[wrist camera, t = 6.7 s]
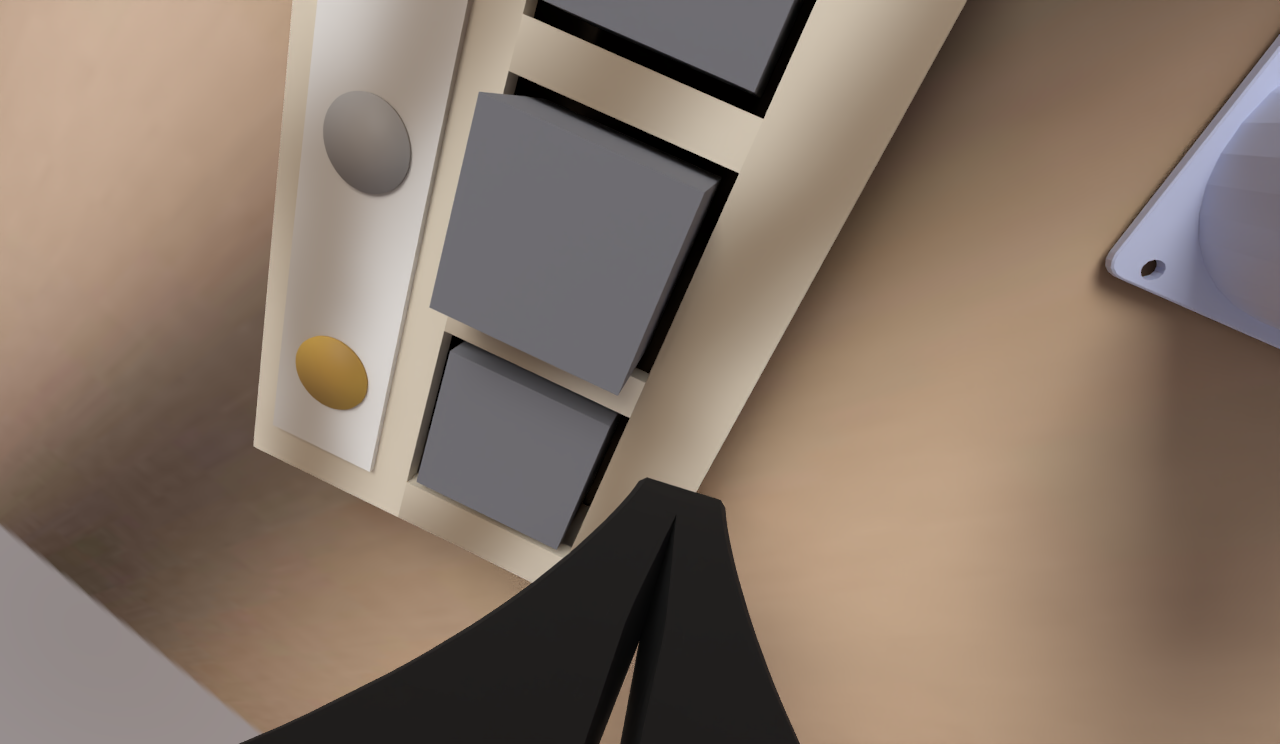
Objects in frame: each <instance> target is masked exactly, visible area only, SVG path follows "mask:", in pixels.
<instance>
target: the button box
mask: <svg viewBox="0 0 1280 744" xmlns="http://www.w3.org/2000/svg"><path fill="white" fill-rule="evenodd" d="M966 1H967V0H817V1H816V3H815V5H814V7H813V10H812V12H811V14H810V16H809V18H808V21H807V23H806V25H805V27H804V30H803V32H802V34H801V36H800V39H799V41H798V43H797V45H796V48H795V50H794V52H793V54H792V56H791V59H790V61H789V63H788V65H787V68H786V70H785V72H784V74H783V77H782V79H781V81H780V83H779V86H778V88H777V90H776V92H775V94H774V97H773V99H772V101H771V103H770V106H769V108H768V110H767V112H766V115H765V117H764V119H762V118H760V117H758V116H755V115H753V114H751V113H749V112H746V111H744V110H742V109H739V108H737V107H735V106H733V105H730V104H728V103H726V102H723V101H721V100H719V99H717V98H714V97H712V96H710V95H707V94H705V93H703V92H701V91H698V90H696V89H694V88H692V87H689V86H687V85H685V84H682V83H680V82H678V81H676V80H673V79H671V78H669V77H666V76H664V75H662V74H660V73H657V72H655V71H653V70H650V69H648V68H646V67H644V66H641V65H639V64H637V63H635V62H632V61H630V60H628V59H625V58H623V57H621V56H619V55H616V54H614V53H612V52H609V51H607V50H605V49H603V48H600V47H598V46H596V45H593V44H591V43H589V42H587V41H584V40H582V39H580V38H577V37H575V36H573V35H571V34H568V33H566V32H564V31H562V30H559V29H557V28H555V27H552V26H550V25H548V24H546V23H543V22H541V21H539V20H536V19H534V14H535V10H536V6H537V2H538V0H293V2H292V14H291V25H290V37H289V48H288V59H287V71H286V82H285V94H284V105H283V116H282V128H281V139H280V150H279V162H278V173H277V185H276V196H275V207H274V219H273V230H272V241H271V253H270V264H269V276H268V287H267V298H266V310H265V321H264V333H263V344H262V355H261V367H260V378H259V389H258V401H257V412H256V424H255V435H254V447H256V448H258V449H260V450H262V451H264V452H266V453H268V454H270V455H272V456H274V457H276V458H278V459H280V460H282V461H284V462H286V463H288V464H290V465H292V466H295V467H297V468H299V469H301V470H303V471H305V472H307V473H309V474H311V475H313V476H315V477H317V478H319V479H321V480H323V481H325V482H327V483H329V484H331V485H333V486H335V487H337V488H339V489H341V490H344V491H346V492H348V493H350V494H352V495H354V496H356V497H358V498H360V499H362V500H364V501H366V502H368V503H370V504H372V505H374V506H376V507H378V508H380V509H382V510H384V511H386V512H388V513H391V514H393V515H395V516H397V517H399V518H401V519H403V520H405V521H407V522H409V523H411V524H413V525H415V526H417V527H419V528H421V529H423V530H425V531H427V532H429V533H431V534H433V535H435V536H438V537H440V538H442V539H444V540H446V541H448V542H450V543H452V544H454V545H456V546H458V547H460V548H462V549H464V550H466V551H468V552H470V553H472V554H474V555H476V556H478V557H480V558H482V559H485V560H487V561H489V562H491V563H493V564H495V565H497V566H499V567H501V568H503V569H505V570H507V571H509V572H511V573H513V574H515V575H517V576H519V577H521V578H523V579H525V580H527V581H529V582H532V583H533V582H534V581H535V580H536V579H538V578H539V577H540V576H541V575H543V574H544V573H545V572H546V571H548V570H549V569H550V568H551V567H553V566H554V565H555V564H556V563H558V562H559V561H560V560H561V559H562V558H564V557H565V556H566V555H567V554H569V553H570V552H571V551H572V550H573V549H574V548H576V547H577V546H578V545H579V544H580V543H581V542H582V541H583V540H584V539H585V538H586V537H588V536H589V535H590V534H591V533H592V532H593V531H594V530H595V529H596V528H597V527H598V526H599V525H600V524H602V523H603V522H604V521H605V520H606V519H607V518H608V517H609V515H610V514H611V513H612V512H613V511H614V510H615V509H616V508H617V507H618V506H619V505H620V504H621V503H622V502H623V501H624V499H625V498H626V497H627V496H628V495H629V494H630V492H631V491H632V490H633V489H634V487H635V486H636V484H637V483H638V481H640V480H642V479H644V478H647V477H648V478H651V479H654V480H658V481H661V482H664V483H667V484H670V485H674V486H677V487H680V488H683V489H686V490H690V491H693V492H697V490H698V488H699V486H700V484H701V483H702V481H703V479H704V477H705V475H706V473H707V472H708V470H709V468H710V466H711V464H712V463H713V461H714V459H715V457H716V455H717V454H718V452H719V450H720V448H721V446H722V444H723V443H724V441H725V439H726V437H727V435H728V434H729V432H730V430H731V428H732V426H733V424H734V423H735V421H736V419H737V417H738V415H739V414H740V412H741V410H742V408H743V406H744V404H745V403H746V401H747V399H748V397H749V395H750V394H751V392H752V390H753V388H754V386H755V384H756V383H757V381H758V379H759V377H760V375H761V374H762V372H763V370H764V368H765V366H766V365H767V363H768V361H769V359H770V357H771V355H772V354H773V352H774V350H775V348H776V346H777V345H778V343H779V341H780V339H781V337H782V335H783V334H784V332H785V330H786V328H787V326H788V325H789V323H790V321H791V319H792V317H793V315H794V314H795V312H796V310H797V308H798V306H799V305H800V303H801V301H802V299H803V297H804V295H805V294H806V292H807V290H808V288H809V286H810V285H811V283H812V281H813V279H814V277H815V276H816V274H817V272H818V270H819V268H820V266H821V265H822V263H823V261H824V259H825V257H826V256H827V254H828V252H829V250H830V248H831V246H832V245H833V243H834V241H835V239H836V237H837V236H838V234H839V232H840V230H841V228H842V226H843V225H844V223H845V221H846V219H847V217H848V216H849V214H850V212H851V210H852V208H853V206H854V205H855V203H856V201H857V199H858V197H859V196H860V194H861V192H862V190H863V188H864V187H865V185H866V183H867V181H868V179H869V177H870V176H871V174H872V172H873V170H874V168H875V167H876V165H877V163H878V161H879V159H880V157H881V156H882V154H883V152H884V150H885V148H886V147H887V145H888V143H889V141H890V139H891V137H892V136H893V134H894V132H895V130H896V128H897V127H898V125H899V123H900V121H901V119H902V118H903V116H904V114H905V112H906V110H907V108H908V107H909V105H910V103H911V101H912V99H913V98H914V96H915V94H916V92H917V90H918V88H919V87H920V85H921V83H922V81H923V79H924V78H925V76H926V74H927V72H928V70H929V68H930V67H931V65H932V63H933V61H934V59H935V58H936V56H937V54H938V52H939V50H940V48H941V47H942V45H943V43H944V41H945V39H946V38H947V36H948V34H949V32H950V30H951V29H952V27H953V25H954V23H955V21H956V19H957V18H958V16H959V14H960V12H961V10H962V9H963V7H964V5H965V3H966ZM518 76H521V77H524V78H526V79H528V80H530V81H533V82H535V83H537V84H539V85H542V86H544V87H546V88H548V89H551V90H553V91H555V92H557V93H560V94H562V95H564V96H566V97H569V98H571V99H573V100H575V101H578V102H580V103H582V104H584V105H587V106H589V107H591V108H593V109H596V110H598V111H600V112H602V113H605V114H607V115H609V116H611V117H614V118H616V119H618V120H620V121H623V122H625V123H627V124H629V125H632V126H634V127H636V128H638V129H641V130H643V131H645V132H647V133H650V134H652V135H654V136H656V137H659V138H661V139H663V140H665V141H668V142H670V143H672V144H674V145H677V146H679V147H681V148H683V149H686V150H688V151H690V152H692V153H695V154H697V155H699V156H701V157H704V158H706V159H708V160H710V161H713V162H715V163H717V164H719V165H722V166H724V167H726V168H728V169H731V170H733V171H735V172H737V173H739V175H738V177H737V179H736V182H735V184H734V186H733V188H732V191H731V193H730V195H729V197H728V200H727V202H726V204H725V206H724V208H723V211H722V213H721V215H720V217H719V220H718V222H717V224H716V226H715V229H714V231H713V233H712V235H711V238H710V240H709V242H708V244H707V246H706V249H705V251H704V253H703V255H702V258H701V260H700V262H699V264H698V267H697V269H696V271H695V273H694V276H693V278H692V280H691V282H690V284H689V287H688V289H687V291H686V293H685V296H684V298H683V300H682V302H681V305H680V307H679V309H678V311H677V314H676V316H675V318H674V320H673V322H672V325H671V327H670V329H669V331H668V334H667V336H666V338H665V340H664V343H663V345H662V347H661V349H660V352H659V354H658V356H657V358H656V360H655V363H654V365H653V367H652V369H651V372H650V374H648V373H646V372H644V371H642V370H640V369H638V368H635V369H634V371H633V372H632V374H631V375H630V377H629V379H628V380H627V382H626V383H625V385H624V387H623V388H622V390H621V392H620V393H619V395H618V396H617V395H615V394H613V393H611V392H609V391H606V390H604V389H602V388H600V387H598V386H596V385H594V384H591V383H589V382H587V381H585V380H583V379H581V378H579V377H577V376H574V375H572V374H570V373H568V372H566V371H564V370H562V369H559V368H557V367H555V366H553V365H551V364H549V363H547V362H545V361H542V360H540V359H538V358H536V357H534V356H532V355H530V354H527V353H525V352H523V351H521V350H519V349H517V348H515V347H513V346H510V345H508V344H506V343H504V342H502V341H500V340H498V339H496V338H493V337H491V336H489V335H487V334H485V333H483V332H481V331H478V330H476V329H474V328H472V327H470V326H468V325H466V324H464V323H461V322H459V321H457V320H455V319H453V318H451V317H449V316H446V315H444V314H442V313H440V312H438V311H436V310H434V309H432V308H429V306H430V302H431V298H432V293H433V289H434V285H435V280H436V276H437V272H438V267H439V263H440V259H441V254H442V250H443V246H444V241H445V237H446V233H447V228H448V224H449V220H450V215H451V211H452V206H453V202H454V198H455V193H456V189H457V185H458V180H459V176H460V172H461V167H462V163H463V159H464V154H465V150H466V146H467V141H468V137H469V133H470V128H471V124H472V120H473V115H474V111H475V106H476V102H477V98H478V93H479V92H488V93H497V94H507V95H514V92H515V88H516V84H517V80H518ZM452 335H454V336H456V337H458V338H461V339H463V340H465V341H467V342H469V343H471V344H473V345H475V346H478V347H480V348H482V349H484V350H486V351H488V352H490V353H492V354H495V355H497V356H499V357H501V358H503V359H505V360H507V361H509V362H512V363H514V364H516V365H518V366H520V367H522V368H524V369H526V370H529V371H531V372H533V373H535V374H537V375H539V376H541V377H543V378H546V379H548V380H550V381H552V382H554V383H556V384H558V385H560V386H563V387H565V388H567V389H569V390H571V391H573V392H575V393H577V394H580V395H582V396H584V397H586V398H588V399H590V400H592V401H595V402H597V403H599V404H601V405H603V406H605V407H607V408H609V409H612V410H614V411H616V412H618V413H620V414H622V415H624V416H626V417H629V418H630V419H629V421H628V423H627V425H626V428H625V430H624V432H623V434H622V436H621V439H620V441H619V443H618V445H617V448H616V450H615V452H614V454H613V457H612V459H611V461H610V463H609V466H608V468H607V470H606V472H605V474H604V477H603V479H602V481H601V483H600V486H599V488H598V490H597V492H596V495H595V497H594V499H593V501H592V504H591V506H590V507H589V506H587V505H585V504H583V503H582V504H581V506H580V507H579V509H578V511H577V513H576V515H575V517H574V519H573V520H572V522H571V524H570V526H569V528H568V530H567V532H566V533H565V535H564V537H563V539H562V541H561V543H560V545H559V546H558V548H557V550H556V549H554V548H552V547H550V546H547V545H545V544H543V543H541V542H539V541H537V540H535V539H533V538H531V537H529V536H527V535H525V534H523V533H521V532H519V531H517V530H515V529H512V528H510V527H508V526H506V525H504V524H502V523H500V522H498V521H496V520H494V519H492V518H490V517H488V516H486V515H484V514H482V513H479V512H477V511H475V510H473V509H471V508H469V507H467V506H465V505H463V504H461V503H459V502H457V501H455V500H453V499H451V498H449V497H447V496H444V495H442V494H440V493H438V492H436V491H434V490H432V489H430V488H428V487H426V486H424V485H422V484H420V483H418V482H416V481H417V477H418V474H419V470H420V466H421V462H422V458H423V454H424V450H425V446H426V442H427V439H428V435H429V431H430V430H428V428H429V424H430V420H431V416H432V412H433V408H434V404H435V400H436V396H437V393H438V389H439V385H440V381H441V377H442V373H443V369H444V365H445V361H446V357H447V354H448V350H449V346H450V342H451V338H452Z"/></svg>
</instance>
